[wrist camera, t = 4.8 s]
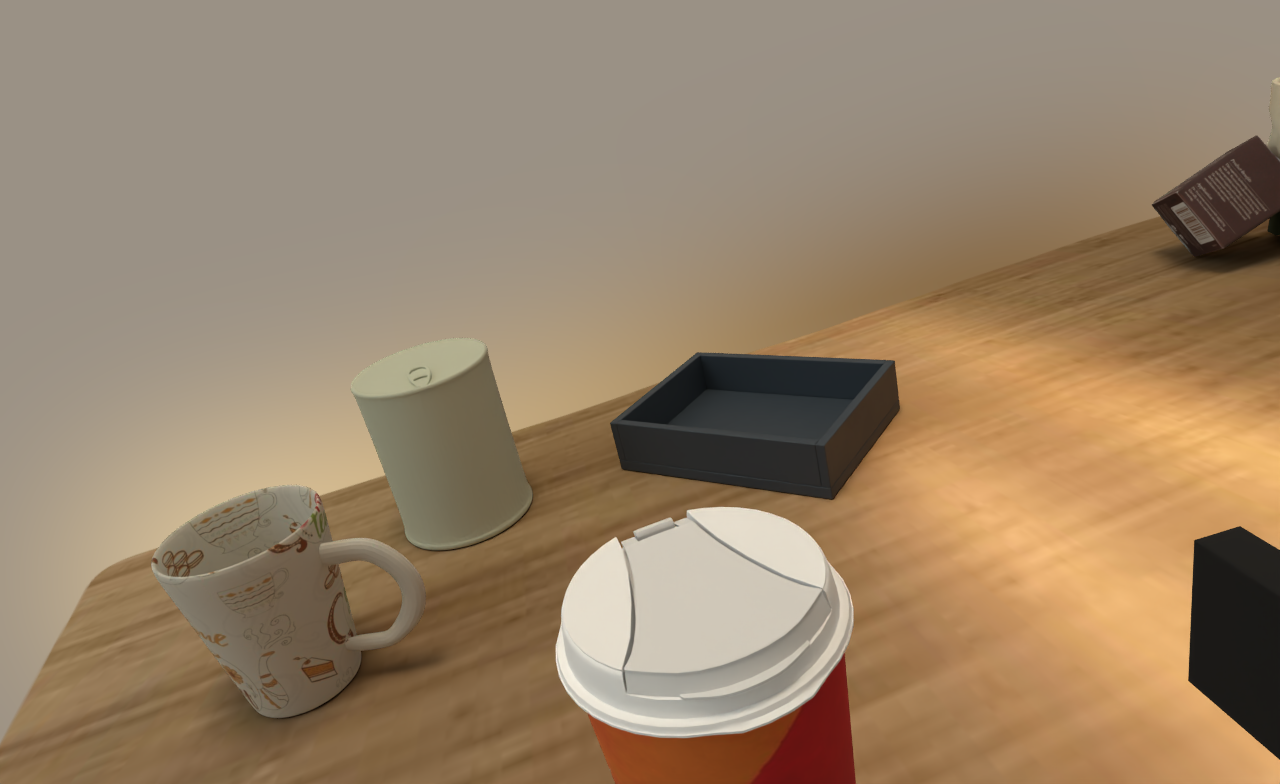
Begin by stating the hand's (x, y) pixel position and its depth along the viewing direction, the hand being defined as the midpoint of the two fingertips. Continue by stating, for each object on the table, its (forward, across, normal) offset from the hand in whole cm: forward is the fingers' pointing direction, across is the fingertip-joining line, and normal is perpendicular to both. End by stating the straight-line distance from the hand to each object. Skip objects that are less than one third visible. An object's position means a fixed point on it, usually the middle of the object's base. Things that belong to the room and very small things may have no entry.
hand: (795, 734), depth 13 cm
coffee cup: (+10, 0, -19) cm, 21 cm away
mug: (+32, -18, -19) cm, 41 cm away
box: (+54, +52, -15) cm, 76 cm away
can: (+46, -10, -19) cm, 51 cm away
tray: (+44, +11, -19) cm, 49 cm away
